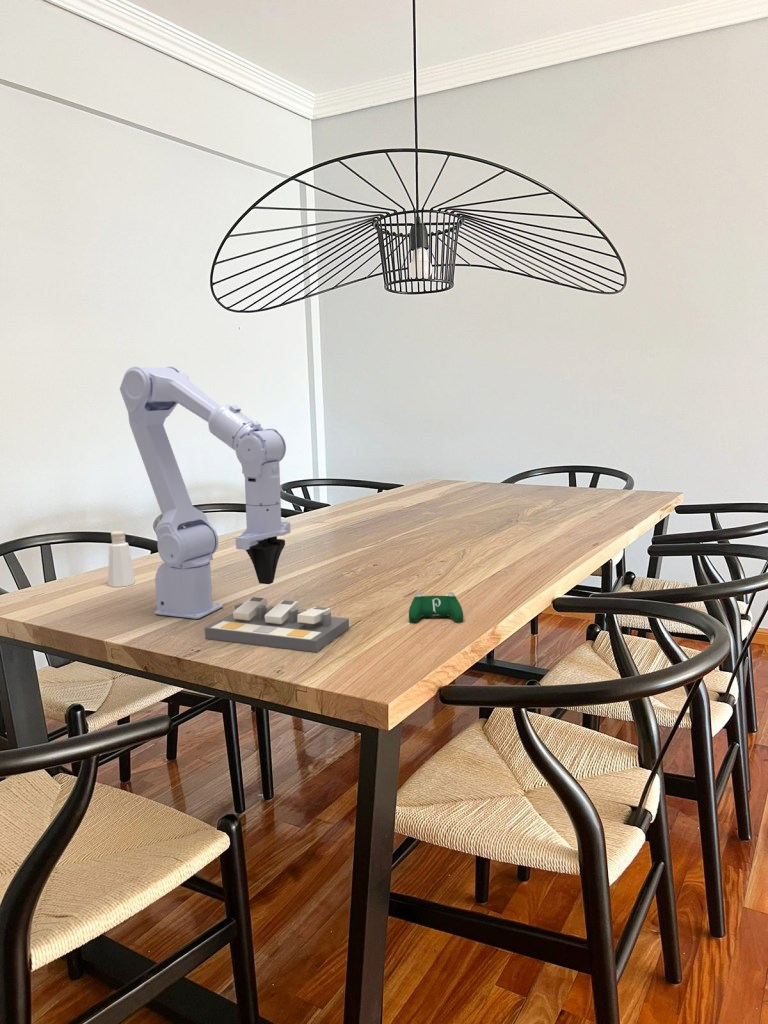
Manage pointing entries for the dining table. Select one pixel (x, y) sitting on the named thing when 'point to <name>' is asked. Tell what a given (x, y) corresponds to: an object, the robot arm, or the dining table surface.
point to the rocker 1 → (249, 608)
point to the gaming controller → (435, 607)
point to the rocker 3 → (312, 615)
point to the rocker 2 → (281, 611)
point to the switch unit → (278, 631)
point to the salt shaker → (120, 562)
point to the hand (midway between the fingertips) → (266, 583)
